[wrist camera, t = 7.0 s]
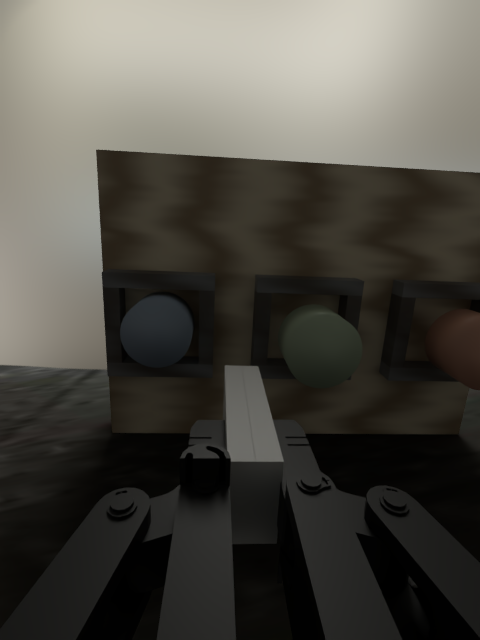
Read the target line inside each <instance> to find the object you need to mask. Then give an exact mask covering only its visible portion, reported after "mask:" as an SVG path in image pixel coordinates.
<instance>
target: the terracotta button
mask: <svg viewBox="0 0 480 640" xmlns="http://www.w3.org/2000/svg"><path fill="white" fill-rule="evenodd" d="M425 352H426V355H427V358H428V359H429V361H430V362H431V363H432V364H433V365H434V366H436V367H437V368H439V369H440V370H442V371H443V372H445V373H447V374H448V375H450V376H451V377H453V378H454V379H456V380H457V381H459V382H461V383H462V384H464V385H465V386H467V387H469V388H471V389H475V390H480V313H478V312H475V311H472V310H469V309H455V310H452V311H449V312H446V313H445V314H443V315H441V316H440V317H439V318H438V319H437V320H435V322H434V323H433V324H432V325H431V327H430V328H429V330H428V332H427V335H426V338H425Z"/></svg>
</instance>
